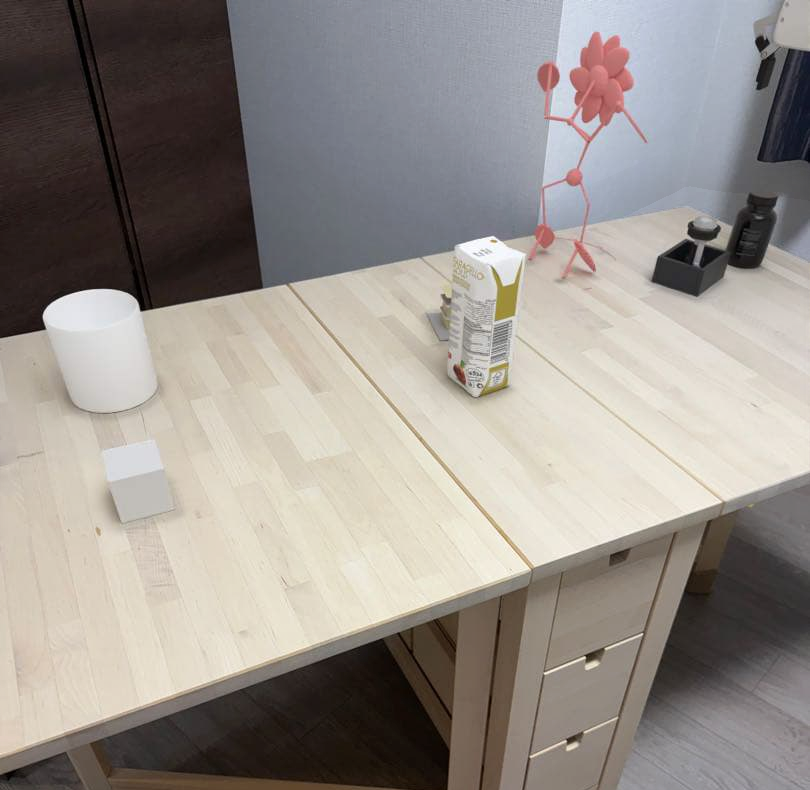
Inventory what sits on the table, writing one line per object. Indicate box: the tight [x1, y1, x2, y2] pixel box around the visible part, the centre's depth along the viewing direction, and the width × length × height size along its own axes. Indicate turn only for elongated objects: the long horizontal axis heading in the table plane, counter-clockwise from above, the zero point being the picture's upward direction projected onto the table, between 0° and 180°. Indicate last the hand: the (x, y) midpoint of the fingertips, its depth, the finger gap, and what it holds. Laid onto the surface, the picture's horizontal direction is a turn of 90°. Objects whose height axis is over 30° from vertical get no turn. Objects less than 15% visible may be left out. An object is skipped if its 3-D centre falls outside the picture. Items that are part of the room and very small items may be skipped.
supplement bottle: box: [725, 188, 779, 269], centre depth 133 cm, size 7×7×12 cm
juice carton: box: [447, 235, 527, 398], centre depth 100 cm, size 8×9×19 cm
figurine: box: [528, 31, 648, 291], centre depth 124 cm, size 15×26×35 cm, turn 33°
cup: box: [42, 288, 159, 414], centre depth 99 cm, size 12×12×12 cm
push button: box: [683, 215, 722, 268], centre depth 128 cm, size 7×5×10 cm
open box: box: [651, 238, 731, 297], centre depth 130 cm, size 9×11×4 cm
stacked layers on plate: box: [426, 284, 452, 341], centre depth 116 cm, size 10×9×6 cm
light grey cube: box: [100, 438, 176, 524], centre depth 84 cm, size 6×6×6 cm
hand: (792, 94), depth 114 cm, fingers open, 9 cm apart
